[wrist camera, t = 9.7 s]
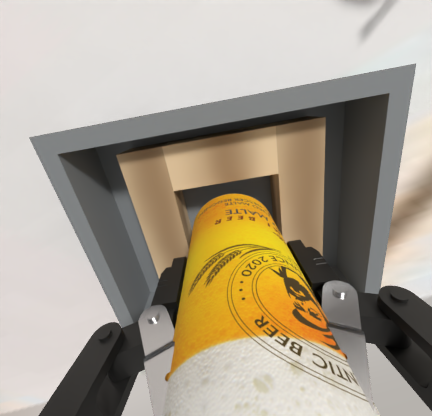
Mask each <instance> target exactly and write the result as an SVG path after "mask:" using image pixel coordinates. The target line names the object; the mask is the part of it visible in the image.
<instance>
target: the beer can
mask: <svg viewBox="0 0 432 416" xmlns="http://www.w3.org/2000/svg"><path fill="white" fill-rule="evenodd" d="M327 323H329V321H328V319H327V317H326V316H325V314H324V312H323V310H322V308H321V306H320V304H319V303H318V301H317V299H316V297H315V295H314V293H313V292H312V290H311V288H310V286H309V284H308V283H307V281H306V279H305V277H304V275H303V273H302V272H301V270H300V268H299V266H298V264H297V262H296V261H295V259H294V257H293V255H292V253H291V252H290V250H289V248H288V246H287V244H286V242H285V241H284V239H283V237H282V235H281V233H280V231H279V230H278V228H277V226H276V224H275V222H274V221H273V219H272V217H271V215H270V213H269V211H268V210H267V209H266V207H265V206H264V205H263V204H262V203H261V202H259V201H258V200H256V199H255V198H253V197H250V196H247V195H243V194H225V195H221V196H218V197H216V198H214V199H212V200H210V201H209V202H208V203H206V204H205V205H204V206H203V207H202V208H201V209H200V211H199V212H198V214H197V216H196V218H195V221H194V225H193V230H192V236H191V241H190V247H189V253H188V258H187V264H186V269H185V275H184V281H183V286H182V292H181V297H180V303H179V308H178V314H177V320H176V325H175V331H174V337H173V342H175V346H174V352H173V358H172V364H171V370H170V373H169V376H168V378H167V382H168V388H167V394H166V400H165V406H164V412H163V416H380V414H379V412H378V410H377V408H376V406H375V405H374V403H373V407H374V411H373V409H372V408H371V406H370V404H369V402H368V400H367V398H366V396H365V394H364V393H363V391H362V389H361V387H360V385H359V383H358V381H357V379H356V378H355V376H354V374H353V372H352V370H351V368H350V366H349V364H348V363H347V361H346V360H347V358H346V357H345V355H344V354H343V353H342V351H341V349H340V348H339V346H338V344H337V342H336V340H335V338H334V336H333V334H332V332H331V331H330V329H329V327H328V324H327Z"/></svg>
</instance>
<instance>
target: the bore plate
mask: <svg viewBox="0 0 432 416" xmlns="http://www.w3.org/2000/svg"><path fill="white" fill-rule="evenodd" d="M325 127H326V117H317V116H305V117H300V118H294V119H289V120H283V121H278V122H272V123H267V124H261V125H256V126H250V127H245V128H240V129H234V130H229V131H223V132H218V133H212V134H207V135H201V136H196V137H190V138H185V139H179V140H174V141H168V142H163V143H157V144H152V145H146V146H141V147H135V148H131V149H128V150H126V151H124V152H122V153H119V154H117V155H116V156H117V159H118V162H119V165H120V168H121V171H122V174H123V176H124V179H125V182H126V185H127V188H128V191H129V194H130V197H131V199H132V202H133V205H134V208H135V211H136V214H137V217H138V219H139V222H140V225H141V228H142V231H143V234H144V237H145V240H146V242H147V245H148V248H149V251H150V254H151V257H152V260H153V263H154V265H155V268H156V271H157V274H158V277H159V279H160V275H161V273H162V272H163V271H164V270H165V269H166V268H168V267H171V266H172V262H173V259H174V258H178V257H185V256H186V257H187V258H188V253H189V247H190V241H191V236H192V228H191V224H190V220H189V216H188V212H187V208H186V204H185V200H184V196H183V192H182V190H184V189H190V188H196V187H202V186H208V185H214V184H220V183H226V182H232V181H238V180H244V179H249V178H255V177H261V176H267V175H270V185H271V198H272V211H273V221H274V222H275V224H276V226H277V228H278V230H279V231H280V233H281V235H282V237H283V239H284V241H285V242H286V244H287V241H293V240H301V241H302V243H303V244H304V246H305V247H313V248H314V249H316V250H317V251H319V252H320V254H321V255H322V256H323V213H324V170H325Z"/></svg>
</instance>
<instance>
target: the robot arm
mask: <svg viewBox="0 0 432 416" xmlns="http://www.w3.org/2000/svg"><path fill="white" fill-rule="evenodd" d="M287 246H288V248H289V250H290V252H291V253H292V255H293V257H294V259H295V261H296V262H297V264H298V266H299V268H300V270H301V272H302V273H303V275H304V277H305V279H306V281H307V283H308V284H309V286H310V288H311V290H312V292H313V293H314V295H315V297H316V299H317V301H318V303H319V304H320V306H321V308H322V310H323V312H324V314H325V316H326V317H327V319H328V321H329V323H327V324H328V327H329V329H330V331H331V332H332V334H333V336H334V338H335V340H336V342H337V344H338V346H339V348H340V349H341V351H342V353H343V354H344V355H345V357H346V358H347V360H346V361H347V363H348V364H349V366H350V368H351V370H352V372H353V374H354V376H355V378H356V379H357V381H358V383H359V385H360V387H361V389H362V391H363V393H364V394H365V396H366V398H367V400H368V402H369V404H370V406H371V408H372V409H373V411H374V407H373V399H372V392H371V384H370V375H369V366H368V359H367V350H366V343H372V344H375V345H376V346H377V347H378V348H379V349H380V351H381V352H382V353H383V354H384V355H385V356H386V358H387V359H388V360H389V361H390V362H391V364H392V365H393V366H394V367H395V368H396V369H397V371H398V372H399V373H400V374H401V375H402V376H403V378H404V379H405V380H406V381H407V383H408V384H409V385H410V386H411V387H412V388H413V390H414V391H415V392H416V393H417V394H418V395H419V397H420V398H421V399H422V400H423V401H424V403H425V404H426V405H427V406H428V407H429V408H430V410H431V411H432V307H431V306H429V305H428V304H427V303H426V302H424V301H423V300H422V299H420V298H419V297H418V296H416V295H415V294H414V293H412V292H411V291H409V290H407V289H404V288H401V287H398V286H385V287H382V288H381V289H380V290H379V294H372V293H363V292H358V291H356V290H355V288H353V287H352V286H351V285H350V284H348V283H345V282H342V281H341V280H340V279H339V278H338V276H337V275H336V274H335V272H334V271H333V270H332V268H331V267H330V266H329V264H328V263H327V262H326V260H325V259H324V258H323V256H322V255H321V254H320V252H319V251H317V250H316V249H314V248H313V247H305V246H304V244H303V243H302V241H301V240H293V241H287ZM186 264H187V257H186V256H185V257H178V258H174V259H173V262H172V266H171V267H168V268H166V269H165V270H164V271H163V272H162V273H161V275H160V279H159V282H158V285H157V288H156V291H155V294H154V297H153V300H152V303H151V306H150V307H149V308H148V309H146V310H145V311H144V312H143V313H142V314H141V316H140V318H139V321H137V322H135V323H133V324H130V325H128V326H125V327H123V328H121V326H120V325H119V324H118V323H116V322H112V323H108V324H105V325H103V326H102V327H100V328H99V329H98V330H97V331H95V333H94V334H93V335H92V336H91V338H90V339H89V341H88V342H87V344H86V345H85V347H84V348H83V350H82V351H81V353H80V354H79V356H78V357H77V359H76V360H75V362H74V363H73V365H72V366H71V368H70V369H69V371H68V372H67V374H66V375H65V377H64V378H63V380H62V381H61V383H60V384H59V386H58V387H57V389H56V390H55V392H54V393H53V395H52V396H51V398H50V399H49V401H48V402H47V404H46V405H45V407H44V409H43V410H42V412H41V413H40V415H39V416H121V415H122V412H123V410H124V407H125V405H126V402H127V400H128V397H129V395H130V391H131V390H132V387H133V385H134V382H135V380H136V377H137V375H138V372H140V371H142V370H144V369H145V372H146V377H147V382H148V387H149V393H150V397H151V403H152V408H153V413H154V416H163V412H164V406H165V400H166V394H167V388H168V382H167V378H168V376H169V373H170V370H171V364H172V358H173V352H174V346H175V342H173V337H174V331H175V325H176V320H177V314H178V308H179V303H180V297H181V292H182V286H183V281H184V275H185V269H186Z"/></svg>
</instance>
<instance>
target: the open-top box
mask: <svg viewBox="0 0 432 416" xmlns="http://www.w3.org/2000/svg"><path fill="white" fill-rule="evenodd" d="M415 68H416V64H411V65H406V66H401V67H396V68H390V69H385V70H380V71H375V72H369V73H364V74H359V75H354V76H348V77H343V78H338V79H333V80H328V81H322V82H317V83H312V84H307V85H301V86H296V87H291V88H286V89H280V90H275V91H270V92H265V93H259V94H254V95H249V96H244V97H239V98H233V99H228V100H223V101H218V102H212V103H207V104H202V105H197V106H191V107H186V108H181V109H176V110H170V111H165V112H160V113H155V114H150V115H144V116H139V117H134V118H129V119H123V120H118V121H113V122H108V123H102V124H97V125H92V126H87V127H81V128H76V129H71V130H66V131H61V132H55V133H50V134H45V135H40V136H34V137H29V138H30V140H31V142H32V144H33V147H34V149H35V151H36V153H37V155H38V157H39V159H40V161H41V163H42V165H43V167H44V169H45V171H46V173H47V175H48V177H49V179H50V181H51V183H52V185H53V187H54V190H55V192H56V194H57V196H58V198H59V200H60V202H61V204H62V206H63V208H64V210H65V212H66V214H67V216H68V218H69V220H70V222H71V224H72V226H73V228H74V231H75V233H76V235H77V237H78V239H79V241H80V243H81V245H82V247H83V249H84V251H85V253H86V255H87V257H88V259H89V261H90V263H91V265H92V267H93V269H94V271H95V274H96V276H97V278H98V280H99V282H100V284H101V286H102V288H103V290H104V292H105V294H106V296H107V298H108V300H109V302H110V304H111V306H112V308H113V310H114V312H115V315H116V317H117V319H118V321H119V323H120V325H121V327H122V328H123V327H125V326H128V325H130V324H133V323H135V322H137V321H139V318H140V316H141V314H142V313H143V312H144V311H145V310H146V309H148V308H149V307H150V306H151V303H152V300H153V297H154V294H155V291H156V288H157V285H158V282H159V277H158V274H157V271H156V268H155V265H154V263H153V260H152V257H151V254H150V251H149V248H148V245H147V242H146V240H145V237H144V234H143V231H142V228H141V225H140V222H139V219H138V217H137V214H136V211H135V208H134V205H133V202H132V199H131V197H130V194H129V191H128V188H127V185H126V182H125V179H124V176H123V174H122V171H121V168H120V165H119V162H118V159H117V156H116V155H117V154H119V153H122V152H124V151H126V150H128V149H131V148H135V147H141V146H146V145H152V144H157V143H163V142H168V141H174V140H179V139H185V138H190V137H196V136H201V135H207V134H212V133H218V132H223V131H229V130H234V129H240V128H245V127H250V126H256V125H261V124H267V123H272V122H278V121H283V120H289V119H294V118H300V117H305V116H317V117H326V127H325V170H324V213H323V258H324V259H325V260H326V262H327V263H328V264H329V266H330V267H331V268H332V270H333V271H334V272H335V274H336V275H337V276H338V278H339V279H340V280H341V281H342V282H345V283H348V284H350V285H351V286H352V287H353V288H355V290H356V291H358V292H363V293H372V294H379V290H380V287H381V281H382V274H383V268H384V262H385V255H386V249H387V243H388V237H389V230H390V224H391V218H392V212H393V205H394V199H395V193H396V187H397V180H398V174H399V168H400V162H401V155H402V149H403V143H404V136H405V130H406V124H407V118H408V111H409V105H410V99H411V93H412V86H413V80H414V74H415ZM182 192H183V196H184V200H185V204H186V208H187V212H188V216H189V220H190V224H191V228H192V230H193V225H194V221H195V218H196V216H197V214H198V212H199V211H200V209H201V208H202V207H203V206H204V205H205V204H206V203H208V202H209V201H210V200H212V199H214V198H216V197H218V196H221V195H225V194H243V195H247V196H250V197H253V198H255V199H256V200H258V201H259V202H261V203H262V204H263V205H264V206H265V207H266V209H267V210H268V211H269V213H270V215H271V217H272V219H273V211H272V198H271V185H270V175H267V176H261V177H255V178H249V179H244V180H238V181H232V182H226V183H220V184H214V185H208V186H202V187H196V188H190V189H184V190H182Z"/></svg>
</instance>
